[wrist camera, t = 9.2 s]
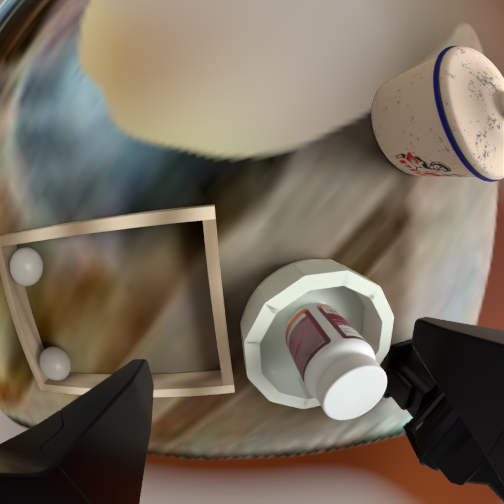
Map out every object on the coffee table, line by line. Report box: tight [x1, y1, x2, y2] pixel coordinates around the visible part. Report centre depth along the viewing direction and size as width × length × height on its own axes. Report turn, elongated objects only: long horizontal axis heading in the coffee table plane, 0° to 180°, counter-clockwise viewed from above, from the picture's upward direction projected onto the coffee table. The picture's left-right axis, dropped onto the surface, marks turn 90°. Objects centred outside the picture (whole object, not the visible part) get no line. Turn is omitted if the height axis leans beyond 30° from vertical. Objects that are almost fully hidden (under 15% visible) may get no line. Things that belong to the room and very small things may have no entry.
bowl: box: [240, 259, 394, 409], centre depth 21 cm, size 11×11×4 cm
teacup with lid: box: [371, 46, 504, 182], centre depth 15 cm, size 12×9×12 cm
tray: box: [0, 204, 235, 397], centre depth 20 cm, size 18×14×2 cm
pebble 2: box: [39, 347, 71, 381], centre depth 20 cm, size 3×3×3 cm
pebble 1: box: [10, 247, 43, 286], centre depth 18 cm, size 3×3×3 cm
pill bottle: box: [285, 303, 387, 420], centre depth 18 cm, size 5×5×8 cm
